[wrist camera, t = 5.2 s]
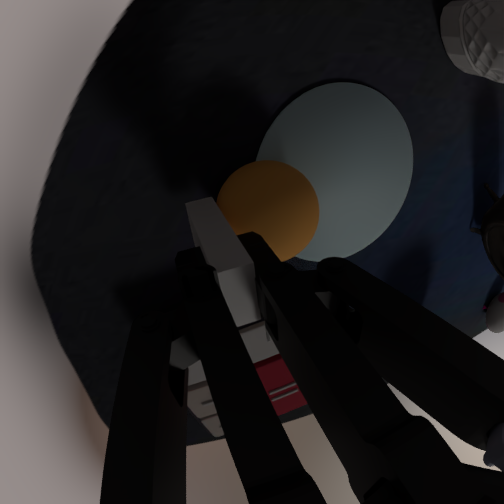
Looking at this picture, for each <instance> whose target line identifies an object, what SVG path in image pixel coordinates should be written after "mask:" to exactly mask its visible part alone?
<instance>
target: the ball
mask: <svg viewBox="0 0 504 504" xmlns="http://www.w3.org/2000/svg"><path fill="white" fill-rule="evenodd" d="M216 204H217V206H218V207H219V209H220V210H221V212H222V214H223V215H224V217H225V218H226V220H227V221H228V223H229V225H230V226H231V228H232V229H233V231H234V232H235V234H236V235H240V234H244V233H247V232H251V231H253V232H255V233H257V234H259V235H261V236H262V237H263V239H264V240H265V242H266V243H267V244H268V245H269V247H270V248H271V249H272V250H273V252H274V253H275V254H276V256H277V257H278V258H279V259H280V261H281V262H283V261H285V260H288V259H290V258H292V257H294V256H296V255H297V254H298V253H300V252H301V251H302V250H303V249H304V248H305V247H306V246H307V245H308V244H309V242H310V241H311V240H312V238H313V236H314V234H315V232H316V229H317V226H318V222H319V203H318V198H317V195H316V193H315V190H314V188H313V186H312V185H311V183H310V182H309V180H308V179H307V178H306V177H305V176H304V175H303V174H302V173H301V172H300V171H298V170H297V169H296V168H294V167H292V166H290V165H288V164H286V163H283V162H279V161H273V160H262V161H255V162H252V163H249V164H246V165H244V166H242V167H241V168H239V169H238V170H236V171H235V172H234V173H233V174H231V175H230V176H229V177H228V179H227V180H226V181H225V183H224V184H223V186H222V187H221V190H220V192H219V194H218V197H217V201H216Z"/></svg>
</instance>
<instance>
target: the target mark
mask: <svg viewBox="0 0 504 504" xmlns="http://www.w3.org/2000/svg"><path fill="white" fill-rule="evenodd" d="M262 160H273V161H279V162H283V163H286V164H288V165H290V166H292V167H294V168H296V169H297V170H298V171H300V172H301V173H302V174H303V175H304V176H305V177H306V178H307V179H308V180H309V182H310V183H311V185H312V186H313V188H314V190H315V193H316V195H317V198H318V203H319V222H318V226H317V229H316V232H315V234H314V236H313V238H312V240H311V241H310V242H309V244H308V245H307V246H306V247H305V248H304V249H303V250H302V251H301V252H300V253H298V254H297V255H296V257H298V258H301V259H305V260H309V261H321V260H322V259H325V258H327V257H341V258H344V257H347V256H350V255H352V254H354V253H356V252H358V251H360V250H362V249H364V248H365V247H366V246H368V245H369V244H371V243H372V242H373V241H374V240H376V239H377V238H378V237H379V236H380V235H381V234H382V233H383V232H384V231H385V230H386V229H387V228H388V226H389V225H390V224H391V222H392V221H393V220H394V218H395V217H396V215H397V214H398V212H399V210H400V208H401V206H402V204H403V202H404V200H405V197H406V195H407V192H408V189H409V185H410V181H411V176H412V169H413V150H412V142H411V138H410V134H409V131H408V128H407V125H406V123H405V121H404V119H403V117H402V115H401V114H400V112H399V111H398V110H397V108H396V107H395V106H394V105H393V104H392V103H391V101H390V100H389V99H387V98H386V97H385V96H384V95H382V94H381V93H379V92H377V91H376V90H374V89H372V88H370V87H367V86H364V85H361V84H355V83H347V82H337V83H330V84H325V85H322V86H319V87H315V88H313V89H311V90H309V91H307V92H305V93H303V94H302V95H300V96H299V97H297V98H296V99H294V100H293V101H292V102H291V103H290V104H289V105H287V106H286V107H285V108H284V109H283V110H282V111H281V112H280V114H279V115H278V116H277V117H276V119H275V120H274V121H273V123H272V124H271V126H270V127H269V129H268V131H267V132H266V134H265V136H264V138H263V141H262V143H261V145H260V148H259V151H258V154H257V157H256V161H262Z"/></svg>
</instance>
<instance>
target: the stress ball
mask: <svg viewBox="0 0 504 504" xmlns="http://www.w3.org/2000/svg"><path fill="white" fill-rule="evenodd" d="M483 309H487V312H486V324H487V327H488V328H489V330H490V331H492V332H494V333H499V332H502V331H504V292H502V293H500V294H498V295H496V296H495V297H494V298H493V299H492V301H491V302H490V304H489V306H488V308H486V306H485V305H484V307H483Z"/></svg>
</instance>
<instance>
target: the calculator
mask: <svg viewBox="0 0 504 504" xmlns="http://www.w3.org/2000/svg"><path fill="white" fill-rule="evenodd" d="M172 311H173V310H172ZM172 311H169V312H166V313H165V314H168V313H170V312H172ZM260 315H261V320H258V321H255V322H251V323H248V324H245V325H242V326H239V327H237V328H238V330H239V333H240V335H241V337H242V339H243V342H244V344H245V346H246V348H247V351H248V353H249V355H250V357H251V360H252V362H253V364H254V366H255V368H256V371H257V373H258V375H259V377H260V379H261V381H262V384H263V386H264V388H265V390H266V392H267V394H268V396H269V399H270V401H271V403H272V405H273V407H274V409H275V411H276V413H277V415H278V416H279V415H281V414H284V413H286V412H289V411H291V410H293V409H296V408H298V407H301V406H303V405H305V404H307V402H306V400H305V398H304V396H303V395H302V393H301V391H300V389H299V387H298V386H297V384H296V382H295V380H294V378H293V377H292V375H291V373H290V371H289V369H288V368H287V366H286V364H285V362H284V360H283V359H282V357H281V355H280V353H279V351H278V350H277V348H276V346H275V344H274V342H273V340H272V339H271V337H270V341H267V337H266V329H265V320H264V317H263V315H262V313H261V311H260ZM188 369H189V377H188V400H187V410H188V411H189V412H190V413H191V414H192V415H193V417H194V418H195V419H196V420H197V421H198V422H199V423H200V424H201V426H202V427H203V428H204V429H205V430H206V431H207V432H208V433H209V434H210V435H213V436H215V437H219V436H222V435H224V432H223V429H222V426H221V424H220V421H219V418H218V415H217V412H216V409H215V405H214V402H213V399H212V396H211V393H210V390H209V387H208V383H207V380H206V377H205V374H204V370H203V367H202V364H201V360H199V361H197V362H196V363H194V364H192V365H191V366H189V367H188Z"/></svg>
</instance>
